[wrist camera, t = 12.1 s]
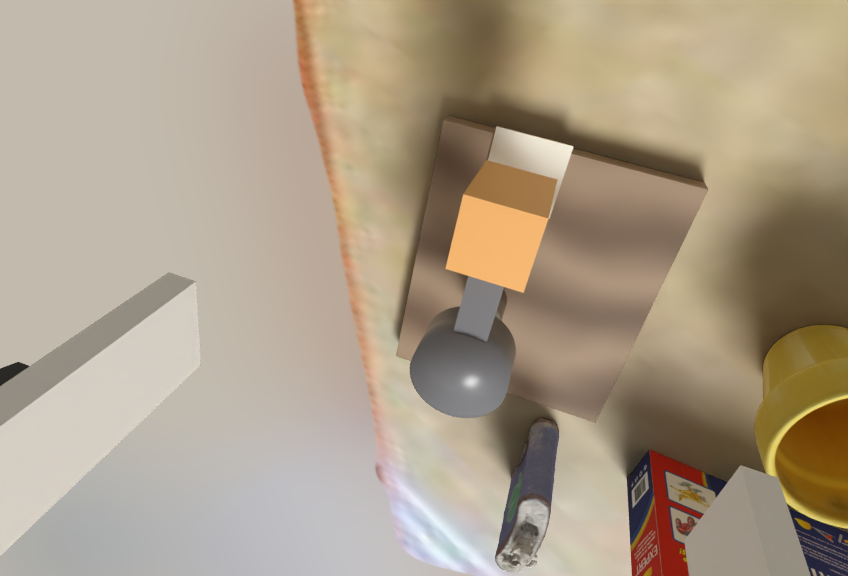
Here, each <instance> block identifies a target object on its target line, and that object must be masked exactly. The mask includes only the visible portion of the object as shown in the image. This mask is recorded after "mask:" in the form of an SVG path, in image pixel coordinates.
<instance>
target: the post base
mask: <svg viewBox="0 0 848 576" xmlns="http://www.w3.org/2000/svg"><path fill="white" fill-rule="evenodd" d="M573 147H574V146H572V145H568V144H564V143H561V142H557V141H553V140H549V139H545V138H542V137H538V136H534V135H530V134H526V133H522V132H519V131H515V130H511V129H507V128H503V127H499V126H496V128H495V127H491V126H487V125H483V124H479V123H476V122H472V121H468V120H464V119H460V118H457V117H453V116H448V117H447V118H445V119H444V120H443V125H442V130H441V135H440V140H439V145H438V150H437V155H436V160H435V165H434V170H433V175H432V180H431V185H430V190H429V195H428V200H427V205H426V210H425V215H424V219H423V224H422V229H421V234H420V239H419V244H418V249H417V254H416V259H415V264H414V269H413V274H412V279H411V284H410V289H409V294H408V299H407V304H406V309H405V314H404V319H403V324H402V329H401V334H400V339H399V343H398V348H397V353H396V356H397V357H400V358H403V359H406V360H409V361H411V360H412V357H413V355H414V353H415V351H416V349H417V347H418V345H419V343H420V341H421V339H422V337H423V336H424V334H425V332H426V330H427V328H428V326H429V324H430V322H431V321H432V320H433V318H434V317H435V316H436V315H438V314H439V313H441V312H442V311H444V310H447V309H449V308H453V307H459V306H460V305H461V301H462V297H463V294H464V290H465V286H466V283H467V279H468V276H467V275H464V274H461V273H457V272H454V271H451V270H448V269H445V268H446V264H447V260H448V256H449V252H450V247H451V243H452V239H453V235H454V231H455V227H456V223H457V218H458V214H459V210H460V206H461V202H462V198H463V194H464V192H465V191H466V190H467V188H468V187H469V185H470V184H471V182H472V181H473V179H474V178H475V176H476V175H477V173H478V172H479V170H480V169H481V167H482V166H483V164H484V163H485V161H486V160H489V161H492V162H496V163H499V164H503V165H507V166H510V167H514V168H518V169H521V170H525V171H529V172H532V173H536V174H539V175H543V176H547V177H550V178H554V179H558V180H557V184H556V188H555V193H554V197H553V201H552V206H551V210H550V214H549V219H548V222H547V225H546V228H545V231H544V233H543V236H542V239H541V242H540V245H539V248H538V251H537V254H536V257H535V260H534V263H533V266H532V269H531V272H530V275H529V278H528V281H527V284H526V287H525V290H524V293H522V292H519V291H516V290H513V289H509V288H506V287H504V289H503V292H502V296H501V299H500V302H499V305H498V308H497V312H496V315H495V316H496V317H498V318H499V319H500V320H501V321H502V322H503V323H504V324H505V325H506V326H507V327H508V329H509V330H510V332H511V334H512V336H513V338H514V341H515V345H516V356H515V360H514V364H513V369H512V373H511V377H510V381H509V386H508V390H507V393H508V394H511V395H514V396H517V397H520V398H523V399H526V400H529V401H532V402H535V403H538V404H541V405H544V406H547V407H550V408H553V409H556V410H559V411H562V412H565V413H568V414H571V415H574V416H577V417H580V418H583V419H586V420H589V421H592V422H595V423H596V421H597V418H598V416H599V414H600V412H601V410H602V408H603V406H604V404H605V402H606V400H607V398H608V396H609V394H610V392H611V390H612V388H613V385H614V383H615V381H616V379H617V377H618V375H619V373H620V371H621V369H622V367H623V365H624V363H625V361H626V359H627V357H628V355H629V352H630V350H631V348H632V346H633V344H634V342H635V340H636V338H637V336H638V334H639V332H640V330H641V328H642V326H643V324H644V322H645V319H646V317H647V315H648V313H649V311H650V309H651V307H652V305H653V303H654V301H655V299H656V297H657V295H658V293H659V291H660V288H661V286H662V284H663V282H664V280H665V278H666V276H667V274H668V272H669V270H670V268H671V266H672V264H673V262H674V260H675V258H676V255H677V253H678V251H679V249H680V247H681V245H682V243H683V241H684V239H685V237H686V235H687V233H688V231H689V229H690V227H691V225H692V222H693V220H694V218H695V216H696V214H697V212H698V210H699V208H700V206H701V204H702V202H703V200H704V198H705V196H706V194H707V192H708V188H707V186H706V185H705V183H704V182H701V181H697V180H693V179H689V178H685V177H682V176H678V175H674V174H670V173H666V172H662V171H659V170H655V169H651V168H647V167H643V166H640V165H636V164H632V163H628V162H624V161H621V160H617V159H613V158H609V157H605V156H601V155H598V154H594V153H590V152H586V151H582V150H579V149H575V148H573Z"/></svg>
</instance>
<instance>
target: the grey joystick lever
mask: <svg viewBox="0 0 848 576" xmlns="http://www.w3.org/2000/svg"><path fill="white" fill-rule="evenodd" d="M557 180H558V179H554V178H550V177H547V176H543V175H539V174H536V173H532V172H529V171H525V170H521V169H518V168H514V167H510V166H507V165H503V164H499V163H496V162H492V161H489V160H486V161H485V163H484V164H483V166H482V167H481V169H480V170H479V172H478V173H477V175H476V176H475V178H474V179H473V181H472V182H471V184H470V185H469V187H468V188H467V190H466V191H465V192H464V194H463V198H462V202H461V206H460V210H459V214H458V218H457V223H456V227H455V231H454V235H453V239H452V243H451V247H450V252H449V256H448V260H447V264H446V268H445V269H448V270H451V271H454V272H457V273H461V274H464V275H467V276H468V279H467V283H466V286H465V290H464V294H463V297H462V301H461V305H460V306H459V307H453V308H449V309H447V310H444V311H442V312H441V313H439V314H438V315H436V316H435V317H434V318H433V320H432V321H431V322H430V324H429V326H428V328H427V330H426V332H425V334H424V336H423V337H422V339H421V341H420V343H419V345H418V347H417V349H416V351H415V353H414V355H413V357H412V360H411V363H410V376H411V380H412V383H413V385H414V388H415V389H416V391H417V393H418V394H419V395H420V396H421V398H422V399H423V400H424V401H425V402H426V403H428V404H429V405H430V406H432V407H433V408H435V409H436V410H438V411H440V412H442V413H445V414H447V415H450V416H454V417H459V418H475V417H480V416H484V415H486V414H489V413H491V412H492V411H494V410H495V409H497V408H498V407H499V406H500V405H501V403H502V402H503V400H504V399H505V396H506V394H507V390H508V386H509V381H510V377H511V373H512V369H513V364H514V360H515V356H516V345H515V341H514V338H513V336H512V334H511V332H510V330H509V329H508V327H507V326H506V325H505V324H504V323H503V322H502V321H501V320H500V319H499V318H498V317H496V316H495V315H496V312H497V308H498V305H499V302H500V299H501V296H502V292H503V289H504V287H506V288H509V289H513V290H516V291H519V292H522V293H524V290H525V287H526V284H527V281H528V278H529V275H530V272H531V269H532V266H533V263H534V260H535V257H536V254H537V251H538V248H539V245H540V242H541V239H542V236H543V233H544V231H545V228H546V225H547V222H548V219H549V214H550V210H551V206H552V201H553V197H554V193H555V188H556V184H557Z"/></svg>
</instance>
